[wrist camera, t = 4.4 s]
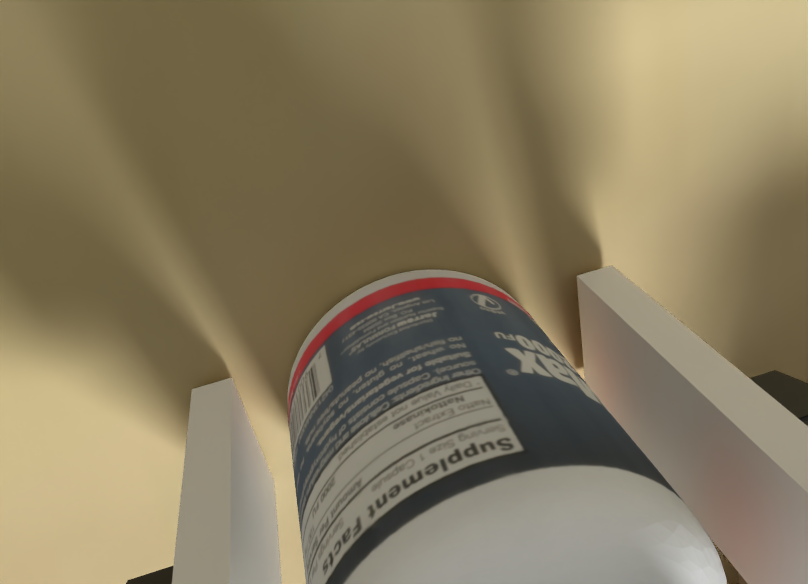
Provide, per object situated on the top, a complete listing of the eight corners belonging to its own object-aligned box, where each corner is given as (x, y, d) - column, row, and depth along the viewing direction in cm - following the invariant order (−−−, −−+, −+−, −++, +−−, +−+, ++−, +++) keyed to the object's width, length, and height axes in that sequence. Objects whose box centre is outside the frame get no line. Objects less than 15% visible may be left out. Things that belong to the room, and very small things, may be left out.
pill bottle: (574, 393, 15) (957, 884, 7) (377, 517, 15) (531, 1121, 7) (463, 207, 12) (880, 659, 4) (228, 363, 12) (216, 1046, 5)
